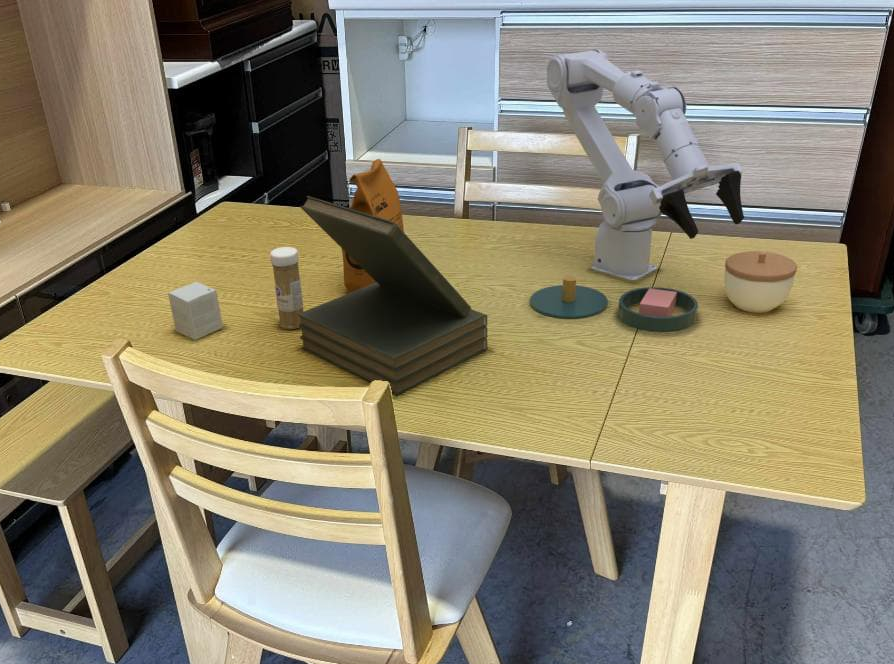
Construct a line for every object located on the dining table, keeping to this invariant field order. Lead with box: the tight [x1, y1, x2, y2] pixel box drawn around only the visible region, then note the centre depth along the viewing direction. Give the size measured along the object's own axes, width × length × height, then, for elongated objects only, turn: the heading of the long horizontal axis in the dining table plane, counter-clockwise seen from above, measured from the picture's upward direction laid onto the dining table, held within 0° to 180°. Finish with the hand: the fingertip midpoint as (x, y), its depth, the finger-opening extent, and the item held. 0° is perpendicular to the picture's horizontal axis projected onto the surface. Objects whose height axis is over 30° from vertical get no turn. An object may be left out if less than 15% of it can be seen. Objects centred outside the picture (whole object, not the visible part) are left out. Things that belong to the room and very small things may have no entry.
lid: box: [529, 275, 608, 320], centre depth 148 cm, size 13×13×5 cm
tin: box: [617, 286, 699, 333], centre depth 142 cm, size 12×12×3 cm
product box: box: [167, 281, 224, 341], centre depth 148 cm, size 6×6×7 cm
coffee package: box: [341, 158, 405, 293], centre depth 157 cm, size 10×12×22 cm
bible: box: [298, 195, 488, 397], centre depth 133 cm, size 23×20×25 cm
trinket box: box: [723, 250, 798, 314], centre depth 142 cm, size 11×11×9 cm
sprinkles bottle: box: [269, 246, 304, 330], centre depth 146 cm, size 5×5×13 cm
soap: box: [638, 288, 677, 317], centre depth 142 cm, size 4×6×3 cm
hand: (717, 228), depth 135 cm, fingers open, 7 cm apart
